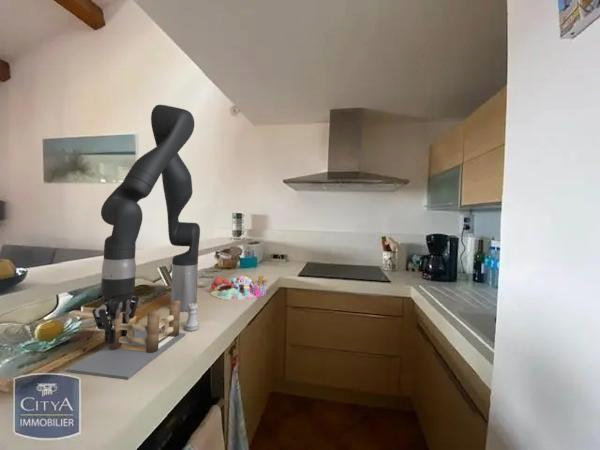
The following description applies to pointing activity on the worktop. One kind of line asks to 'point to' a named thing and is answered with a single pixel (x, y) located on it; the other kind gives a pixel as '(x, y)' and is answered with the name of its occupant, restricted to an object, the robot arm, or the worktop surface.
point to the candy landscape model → (239, 288)
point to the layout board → (122, 358)
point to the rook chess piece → (192, 318)
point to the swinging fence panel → (131, 328)
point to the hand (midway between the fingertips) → (116, 339)
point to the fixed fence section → (154, 326)
